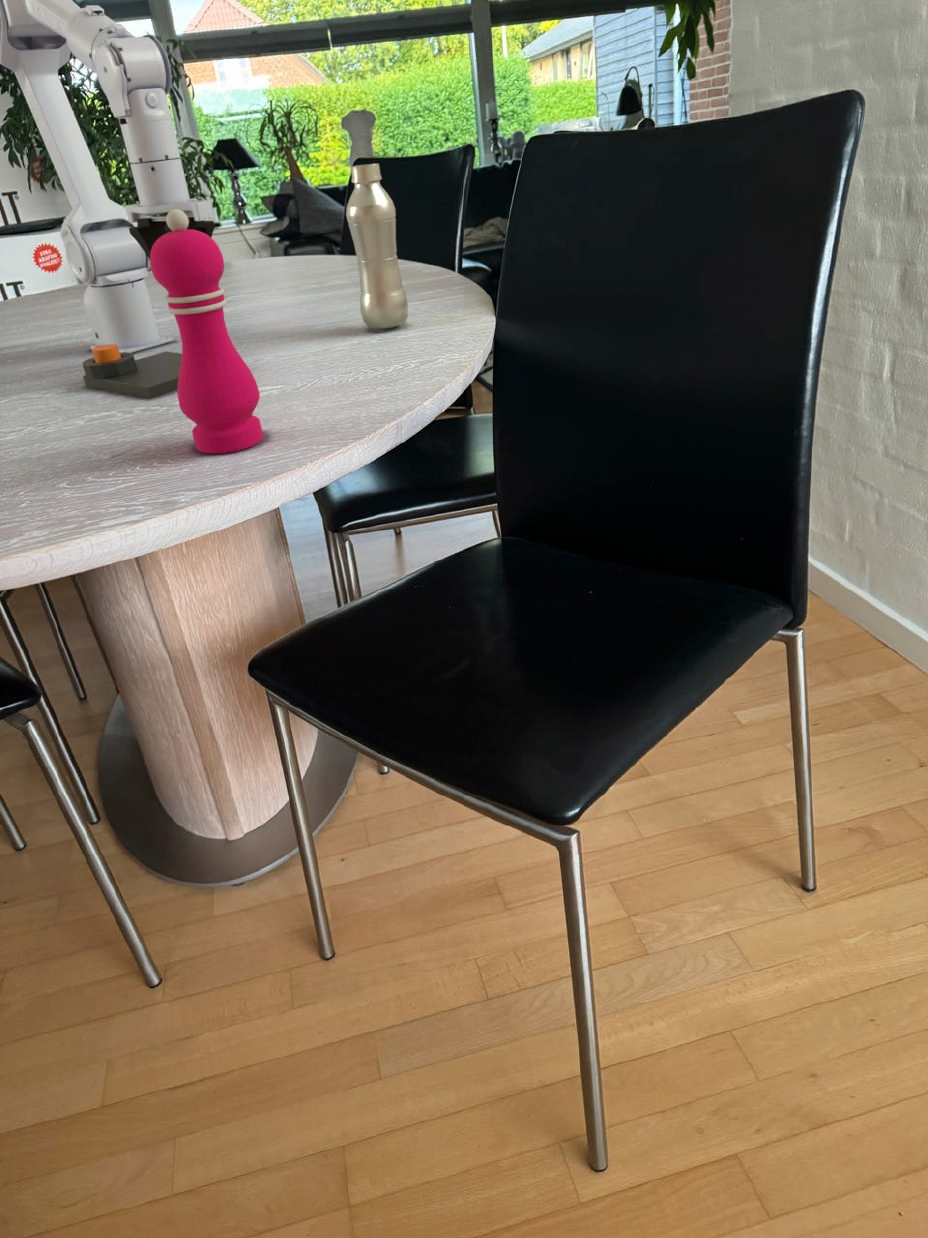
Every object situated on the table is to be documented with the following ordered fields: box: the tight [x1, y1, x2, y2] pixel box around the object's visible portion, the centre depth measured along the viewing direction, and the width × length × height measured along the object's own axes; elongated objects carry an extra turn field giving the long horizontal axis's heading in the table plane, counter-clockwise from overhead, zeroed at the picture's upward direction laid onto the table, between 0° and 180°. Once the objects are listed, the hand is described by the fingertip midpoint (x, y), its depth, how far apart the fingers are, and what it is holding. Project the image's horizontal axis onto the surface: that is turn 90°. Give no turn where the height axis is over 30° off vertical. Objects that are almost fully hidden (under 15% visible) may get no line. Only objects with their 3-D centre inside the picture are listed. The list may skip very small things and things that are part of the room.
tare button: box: [91, 344, 121, 363], centre depth 104 cm, size 3×3×2 cm
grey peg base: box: [82, 351, 182, 400], centre depth 105 cm, size 14×12×3 cm
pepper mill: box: [150, 209, 264, 455], centre depth 76 cm, size 7×7×20 cm
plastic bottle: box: [345, 163, 409, 330], centre depth 114 cm, size 6×7×20 cm
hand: (185, 284), depth 107 cm, fingers closed on lemon, 5 cm apart
